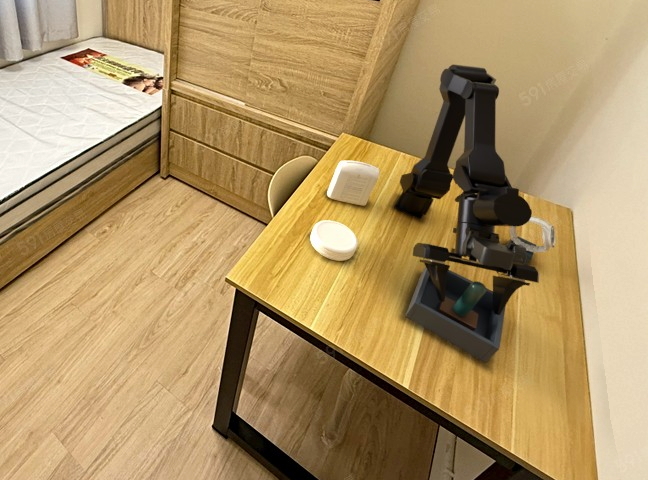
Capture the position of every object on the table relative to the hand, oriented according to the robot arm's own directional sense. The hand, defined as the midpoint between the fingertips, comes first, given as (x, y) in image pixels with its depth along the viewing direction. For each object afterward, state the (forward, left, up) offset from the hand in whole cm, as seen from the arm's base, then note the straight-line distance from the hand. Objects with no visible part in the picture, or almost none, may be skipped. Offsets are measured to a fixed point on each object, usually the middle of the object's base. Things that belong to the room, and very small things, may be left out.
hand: (468, 307), depth 76 cm
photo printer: (-29, +24, -7) cm, 38 cm away
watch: (+8, +32, -7) cm, 33 cm away
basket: (-1, +3, -7) cm, 7 cm away
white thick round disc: (-26, +5, -7) cm, 27 cm away
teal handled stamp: (0, +1, -6) cm, 6 cm away
